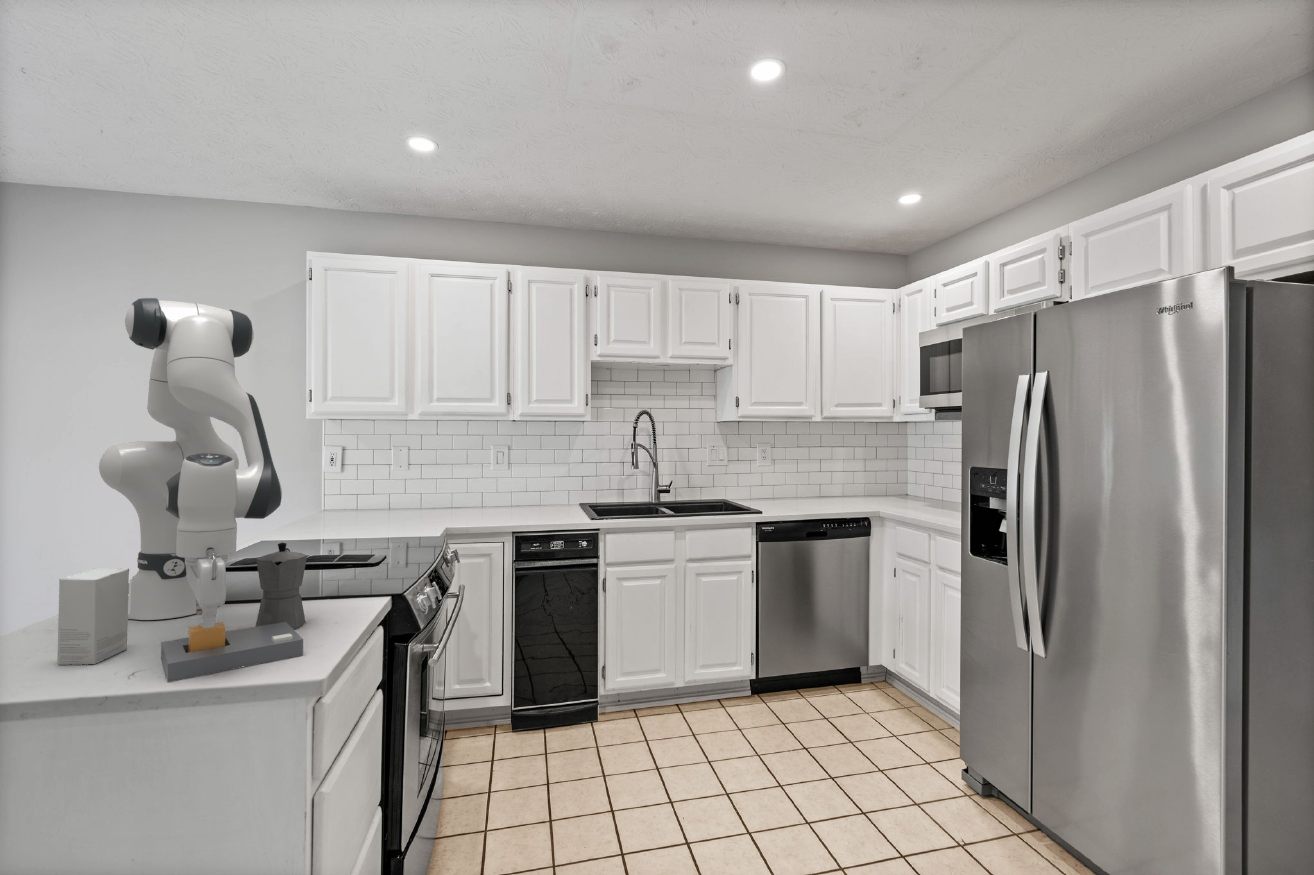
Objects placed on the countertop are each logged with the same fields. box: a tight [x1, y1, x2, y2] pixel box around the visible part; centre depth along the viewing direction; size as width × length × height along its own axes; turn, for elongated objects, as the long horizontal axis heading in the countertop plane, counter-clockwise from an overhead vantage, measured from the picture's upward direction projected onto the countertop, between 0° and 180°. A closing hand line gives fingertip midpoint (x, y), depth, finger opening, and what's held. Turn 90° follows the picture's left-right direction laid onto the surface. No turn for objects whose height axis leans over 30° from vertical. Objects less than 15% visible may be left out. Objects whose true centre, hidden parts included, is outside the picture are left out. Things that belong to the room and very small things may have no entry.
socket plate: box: [160, 622, 304, 683], centre depth 115 cm, size 14×20×4 cm
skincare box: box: [56, 567, 130, 666], centre depth 113 cm, size 8×7×16 cm
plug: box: [188, 621, 226, 652], centre depth 112 cm, size 4×5×6 cm
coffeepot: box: [255, 542, 308, 630], centre depth 134 cm, size 15×9×18 cm, turn 25°
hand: (204, 620), depth 113 cm, fingers open, 8 cm apart
